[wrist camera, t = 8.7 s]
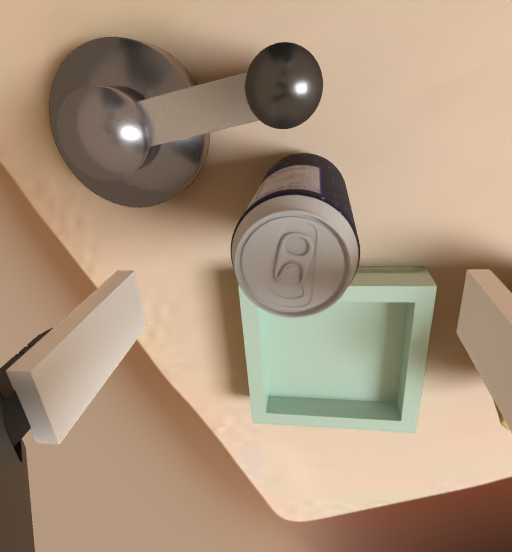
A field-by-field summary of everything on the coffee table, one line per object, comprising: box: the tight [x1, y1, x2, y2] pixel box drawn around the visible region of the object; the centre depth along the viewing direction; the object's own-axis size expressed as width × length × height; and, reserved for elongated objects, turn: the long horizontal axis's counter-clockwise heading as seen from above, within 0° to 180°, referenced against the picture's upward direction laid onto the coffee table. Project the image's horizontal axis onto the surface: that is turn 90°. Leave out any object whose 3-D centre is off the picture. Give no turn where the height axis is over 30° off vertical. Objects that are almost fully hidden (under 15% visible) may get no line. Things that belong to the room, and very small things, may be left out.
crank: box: [57, 42, 323, 181], centre depth 19 cm, size 15×5×9 cm, turn 103°
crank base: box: [49, 37, 210, 207], centre depth 25 cm, size 10×10×2 cm
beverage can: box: [231, 153, 360, 318], centre depth 21 cm, size 6×6×12 cm
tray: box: [238, 267, 437, 433], centre depth 30 cm, size 13×13×3 cm
